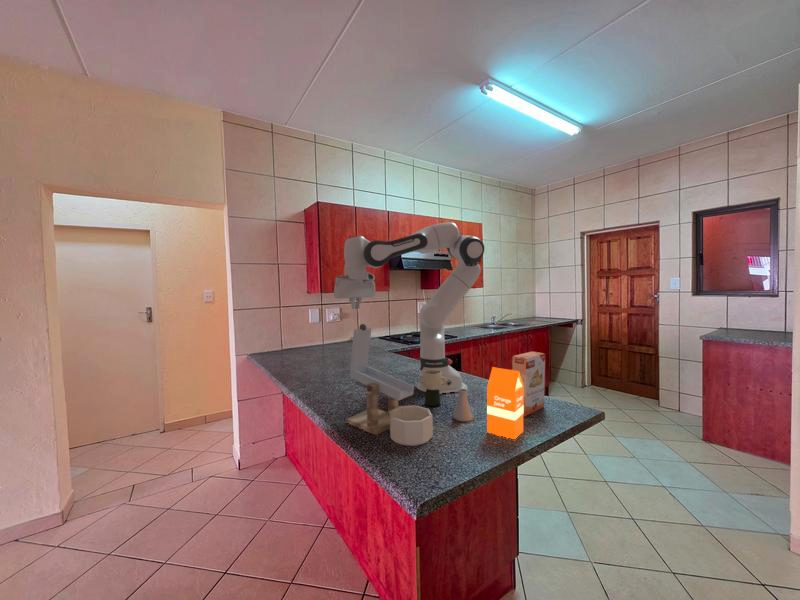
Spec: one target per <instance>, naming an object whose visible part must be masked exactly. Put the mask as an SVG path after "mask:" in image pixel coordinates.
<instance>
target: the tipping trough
mask: <svg viewBox="0 0 800 600" xmlns="http://www.w3.org/2000/svg"><path fill="white" fill-rule="evenodd" d="M371 335H372V327H367V325H366V324H364V323H361V324H360V325H359V328H356V329H353V335H352V344H351V345H352V346H351V357H350V370H349V378H351V379H352V380H355V381H356V382H355V383H356V385H357V386H359V387H360V388H363V389H367V384H369V383H374V384H378V393H379V392H380V393H382V394H384V395H386V396H387V397H388V396H390V397H392V398H394V399H396V400H398V402H399V401H401V400H403V399H406V398H408V397H410V396H413V395H414V392H415V391H414V390H415V389H414V388H415V385H413V384H411V383H410V382H407V381H404V380H402V379H400V378H398V379H397V378H395V377H396V376H392V375H390V374H388V373H386V372H383V371H380V370H378V369H376V368H374V367H371V366H370V365H369V359H370V358H369V357H370V355H369V354H370V345H371V337H372V336H371Z"/></svg>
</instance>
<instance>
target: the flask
mask: <svg viewBox="0 0 800 600" xmlns="http://www.w3.org/2000/svg"><path fill="white" fill-rule="evenodd" d="M458 391H459V392H458V393H459V395H458V399H457V402H456V406H455V408H454V410H453V413H452V417H453V420H456V421H458V422H470V421H473V420H475V418H474V415H473V413H472V411H471V407H470V403H469V400H468V391H469V390H468V388H467V389H458Z"/></svg>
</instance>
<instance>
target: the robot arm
mask: <svg viewBox="0 0 800 600" xmlns="http://www.w3.org/2000/svg"><path fill="white" fill-rule="evenodd" d="M343 248H344V250H343V258H344V259H343V260H344V263H345V264H344V267H343V268H344V271H343V273H344V274H343V275H340V274H339V275H337V276H336V277H335V279H334V288H333V289H334V290H333V296H334V298H335V299H337V300H338V299H339V300H340V299H348V300H349V303H350V305H351V310H360V309H361V308H360V305H361V304H362V301H363V298H375V296H376V283H375V278H376V277H375V275H374V274H373V273H371V272H369V271H367V269H366V268H367V267H370V268H374V269H378V268H381V267H383V266H384V265H386V264H387V263H388V262H389V261H390V260H392V259H394V258H395V257H398V256H401V255H402V256H403V255H405V254H408V253H412V252H413V253H414V252H415V253H420V254H430V253H435V252H439V251H442V250H444V249H446V250H447V252H448V254H449V256H451V257H452V258H453V259H455V260H457V263H456V266H455V268H453V270H452V271H451V272H450V274H449V275H448V276H447V277H446V278H445V280H444V281H443V282H442V283H441V285H440V286H439V287H438V288H437V290H436V291H435V293H434V294H433V295H432V297H431V298H430V299H429V300H428V302H425V303H424V304H423V305H422V306H421V308H420V311H419V329H420V331H419V333H420V334H419V335H420V336H419V337H420V338H419V342H420V344H419V345H420V348H419V349H420V356H419V361H418V362H419V363H418V364H419V365H418V366H419V375H424V371H425V370H429V369H435V370H440V371H441V372H442V377H446V385H445V386H444V385H442V386H441V388H440V389H439V393H440V395H443V394H442V393H446V394H451V393H450V392H455V393H459V391H458V389H467V390H468V385H467V384H466V383H465V382H463V379H462V376H461V374H460V373H459V371H457V370H456V369H455V368H453V367H452V366H451V365H452V364H453V360H451V358H449V357H446V349H445V348H446V346H445V345H446V339H445V323H446V321H447V320H448V318H449V317H450V316H451V314H452V313H453V311H454V310H455V308H457V305H458V304H459V303H460V301H462V299H463V298H464V297H465V296H466V294H467V293H468V292H469V291H470V289H471V288H472V287H473V286H474V285H475V283H476V282H477V280H478V278H479V276H480V275H481V273H482V269H481V266H480V263H481V262H482V258H483V256H484V253H485V244H484V242H483V240H482V239H480V238H479V237H478V236H473V235H467V234H466V235H463V234H461V233H460V230H459V227H458V225H457V224H456V223H454V222H451V221H449V222H448V221H447V222H446V221H445V222H441V223H435V224H432V225H429V226H426V227H423V228H421V229H419V230H417V231H415V232H413V233H411V234H410V235H408V236H405V237H400V238H398V239H393V240H389V241H386V240H378V239H377V240H373V241H370V240H368V239H366V238H365V237H364V236H363V235H355V236H349V237H348V238H347V239H346V240H345V242H344V247H343ZM355 301H356V303H355ZM422 381H424V378H423V377H422ZM442 383H444V379H442ZM416 389H418V390H419V391H421V392H424V393H426V390H427V389H426V388H424V383H420V382H419V381H417V385H416Z"/></svg>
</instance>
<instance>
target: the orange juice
mask: <svg viewBox="0 0 800 600" xmlns="http://www.w3.org/2000/svg"><path fill="white" fill-rule="evenodd" d="M486 390H487V393H486V397H487V398H486V399H487V400H486V401H487V402H486V405H487V406H486V414H487V415H486V417H487V419H486V421H487V422H486V426H487V427H486V429H487V430H486V432H487V433H488V434H491V433H492V434H491V435H494V434H495V436H497V437H501V436H503V437H502V438H504V437H506V438H505V439H508V438H511V439H516V438H517V437H518V436H519V435H520V434H521V433H523V432H524V416H523V413H524V405H523V384H522V380H521V377H520V373H519V371H514V370H512V369H508V368H499V367H494V366H492V367H491V371H490V375H489V379H488V383H487V389H486ZM521 435H522V434H521ZM521 435H520V436H521ZM520 436H519V437H520ZM519 437H518V438H519ZM518 438H517V439H518ZM511 439H510V440H511ZM517 439H516V440H517Z"/></svg>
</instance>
